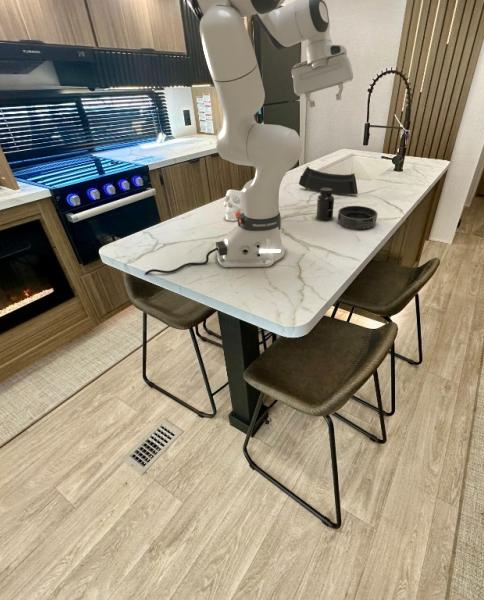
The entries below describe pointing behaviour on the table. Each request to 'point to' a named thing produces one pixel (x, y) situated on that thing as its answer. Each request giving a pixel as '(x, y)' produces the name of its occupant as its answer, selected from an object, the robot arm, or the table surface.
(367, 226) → the bowl
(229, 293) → the table surface
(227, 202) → the skull bowl
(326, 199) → the supplement bottle
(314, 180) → the magazine
